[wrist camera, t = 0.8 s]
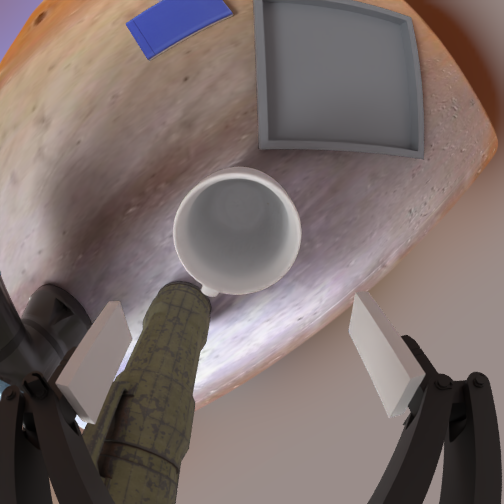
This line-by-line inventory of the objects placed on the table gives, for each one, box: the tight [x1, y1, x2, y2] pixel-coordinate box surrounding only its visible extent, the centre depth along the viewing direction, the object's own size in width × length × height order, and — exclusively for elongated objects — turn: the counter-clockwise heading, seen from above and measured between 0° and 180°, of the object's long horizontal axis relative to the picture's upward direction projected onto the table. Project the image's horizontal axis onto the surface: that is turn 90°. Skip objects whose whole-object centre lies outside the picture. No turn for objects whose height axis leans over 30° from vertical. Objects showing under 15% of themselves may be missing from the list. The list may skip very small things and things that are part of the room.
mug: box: [173, 166, 302, 297], centre depth 29 cm, size 15×11×13 cm
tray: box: [253, 0, 424, 159], centre depth 26 cm, size 22×22×3 cm
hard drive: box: [126, 0, 233, 61], centre depth 24 cm, size 2×8×12 cm
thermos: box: [82, 281, 211, 504], centre depth 24 cm, size 9×12×35 cm
